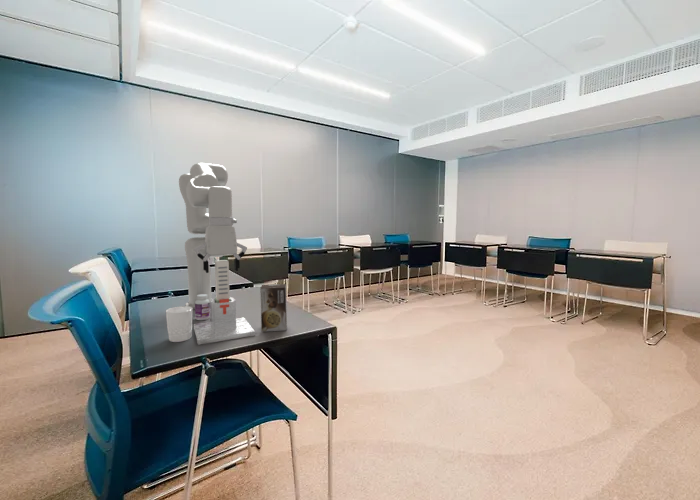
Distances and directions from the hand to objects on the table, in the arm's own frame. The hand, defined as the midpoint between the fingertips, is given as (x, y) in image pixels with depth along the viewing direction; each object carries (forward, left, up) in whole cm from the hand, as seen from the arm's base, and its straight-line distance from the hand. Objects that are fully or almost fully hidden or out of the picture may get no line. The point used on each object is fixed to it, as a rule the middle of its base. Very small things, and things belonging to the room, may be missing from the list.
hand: (221, 271), depth 112 cm
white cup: (0, -14, -22) cm, 26 cm away
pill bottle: (-20, -5, -22) cm, 30 cm away
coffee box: (+5, +17, -22) cm, 28 cm away
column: (0, 0, -14) cm, 14 cm away
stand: (0, 0, -22) cm, 22 cm away
